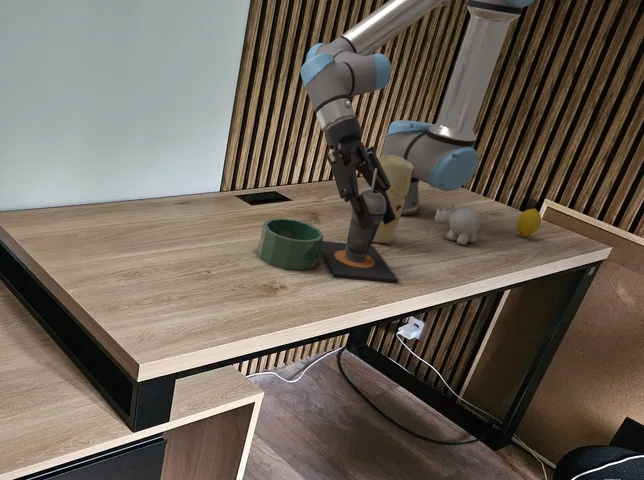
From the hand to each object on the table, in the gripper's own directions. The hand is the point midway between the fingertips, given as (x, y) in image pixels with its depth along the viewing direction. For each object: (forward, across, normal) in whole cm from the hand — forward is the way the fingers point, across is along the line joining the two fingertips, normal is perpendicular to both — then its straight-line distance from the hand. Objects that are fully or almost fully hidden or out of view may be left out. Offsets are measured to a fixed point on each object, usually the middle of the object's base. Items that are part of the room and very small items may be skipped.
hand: (379, 224), depth 145 cm
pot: (-1, -13, +16) cm, 20 cm away
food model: (-1, +17, +15) cm, 23 cm away
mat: (+5, 0, +10) cm, 11 cm away
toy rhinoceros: (+5, +40, +10) cm, 41 cm away
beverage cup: (+4, 0, +9) cm, 10 cm away
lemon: (+10, +62, +4) cm, 63 cm away
